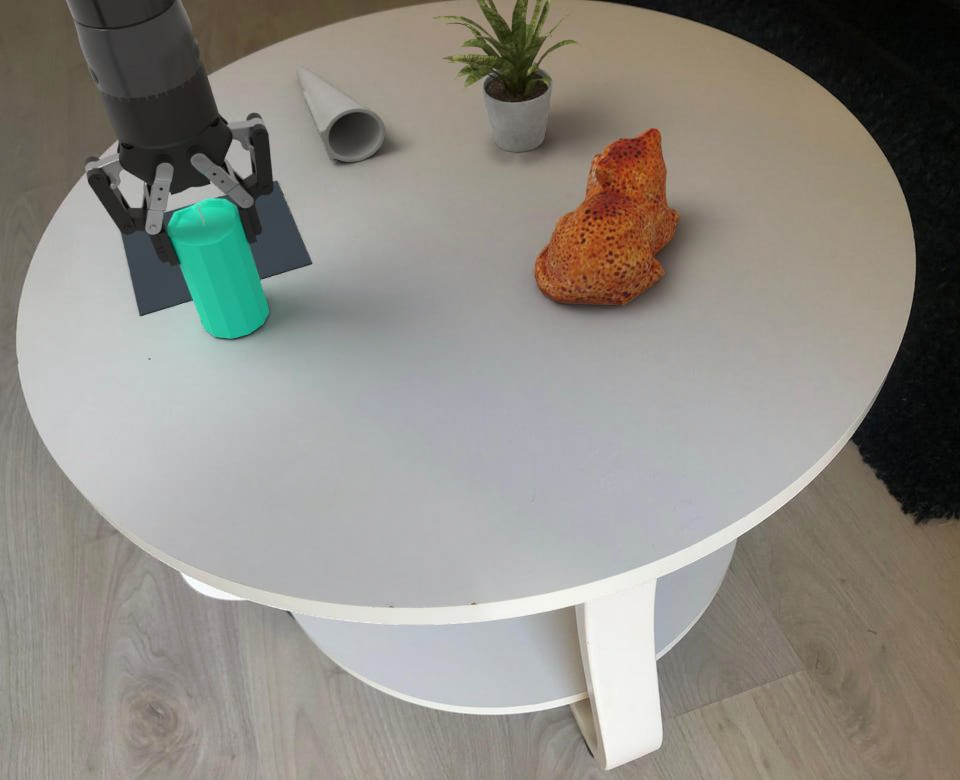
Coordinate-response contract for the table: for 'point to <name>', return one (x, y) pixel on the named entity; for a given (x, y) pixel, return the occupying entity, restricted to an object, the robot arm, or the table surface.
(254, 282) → the candle
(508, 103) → the house plant
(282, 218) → the mat
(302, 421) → the table surface
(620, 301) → the figurine
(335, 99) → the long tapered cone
